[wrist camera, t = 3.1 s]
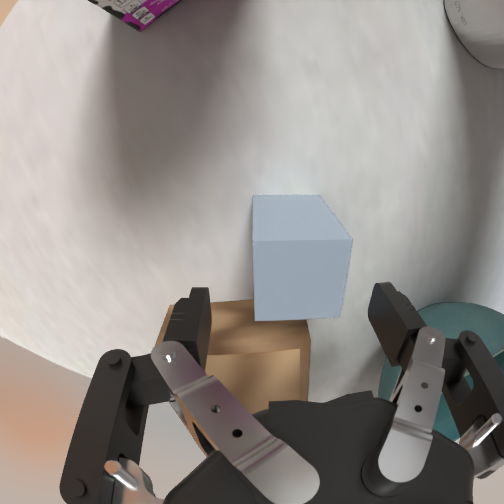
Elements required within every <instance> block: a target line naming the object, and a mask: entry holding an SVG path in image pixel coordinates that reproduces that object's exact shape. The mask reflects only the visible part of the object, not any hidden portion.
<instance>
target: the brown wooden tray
mask: <svg viewBox="0 0 504 504" xmlns="http://www.w3.org/2000/svg"><path fill="white" fill-rule="evenodd" d="M210 305H211V313H212V326H211V333H210V340H209V347H208V354H207V361H206V368H205V373H206V374H207V375H208V376H209V377H210V376H212V375H213V376H215V377H216V378H218V380H219V381H220V382H221V383H222V384H223V385H224V386H225V387H226V388H227V389H228V391H229V392H230V393H231V394H232V395H233V396H234V397H235V398H236V399H237V400H238V401H239V402H240V403H241V404H242V405H243V406H244V408H245V409H246V410H247V411H248V412H249V413H250V414H251V415H252V414H254V413H256V412H259V411H262V410H265V409H268V404H269V401H286V400H300V401H308V388H309V369H310V345H311V339H310V335H309V330H308V325H307V321H306V319H302V320H277V321H255V311H254V299H252V300H240V301H227V302H213V303H210ZM173 308H174V305H170V306H169V309H168V312H167V314H166V317H165V319H164V322H163V325H162V327H161V330H160V333H159V336H158V338H157V341H156V344H155V346H156V345H158V344H159V343H161V342H162V341H163V338H164V335H165V332H166V329H167V326H168V323H169V320H170V317H171V314H172V311H173Z"/></svg>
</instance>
